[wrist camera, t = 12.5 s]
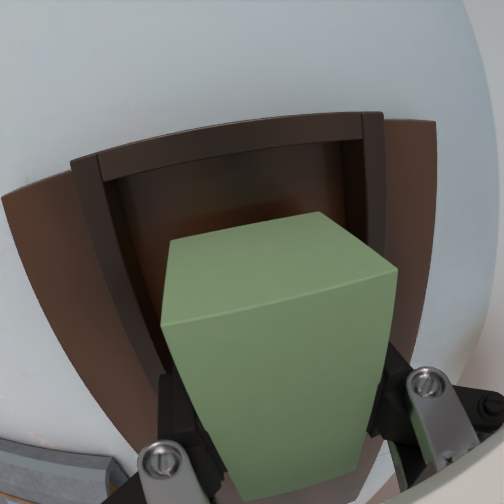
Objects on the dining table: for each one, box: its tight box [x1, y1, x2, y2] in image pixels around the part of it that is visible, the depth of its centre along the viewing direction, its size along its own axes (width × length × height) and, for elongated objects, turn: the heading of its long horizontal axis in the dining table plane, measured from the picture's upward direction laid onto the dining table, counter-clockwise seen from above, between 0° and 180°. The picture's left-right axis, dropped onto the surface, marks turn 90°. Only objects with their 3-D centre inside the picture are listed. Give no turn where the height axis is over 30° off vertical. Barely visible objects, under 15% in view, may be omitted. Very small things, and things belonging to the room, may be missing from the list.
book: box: [0, 439, 129, 504], centre depth 14 cm, size 21×16×5 cm
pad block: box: [160, 211, 398, 502], centre depth 9 cm, size 4×9×4 cm, turn 8°
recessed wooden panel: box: [1, 112, 437, 504], centre depth 16 cm, size 16×38×3 cm, turn 8°
